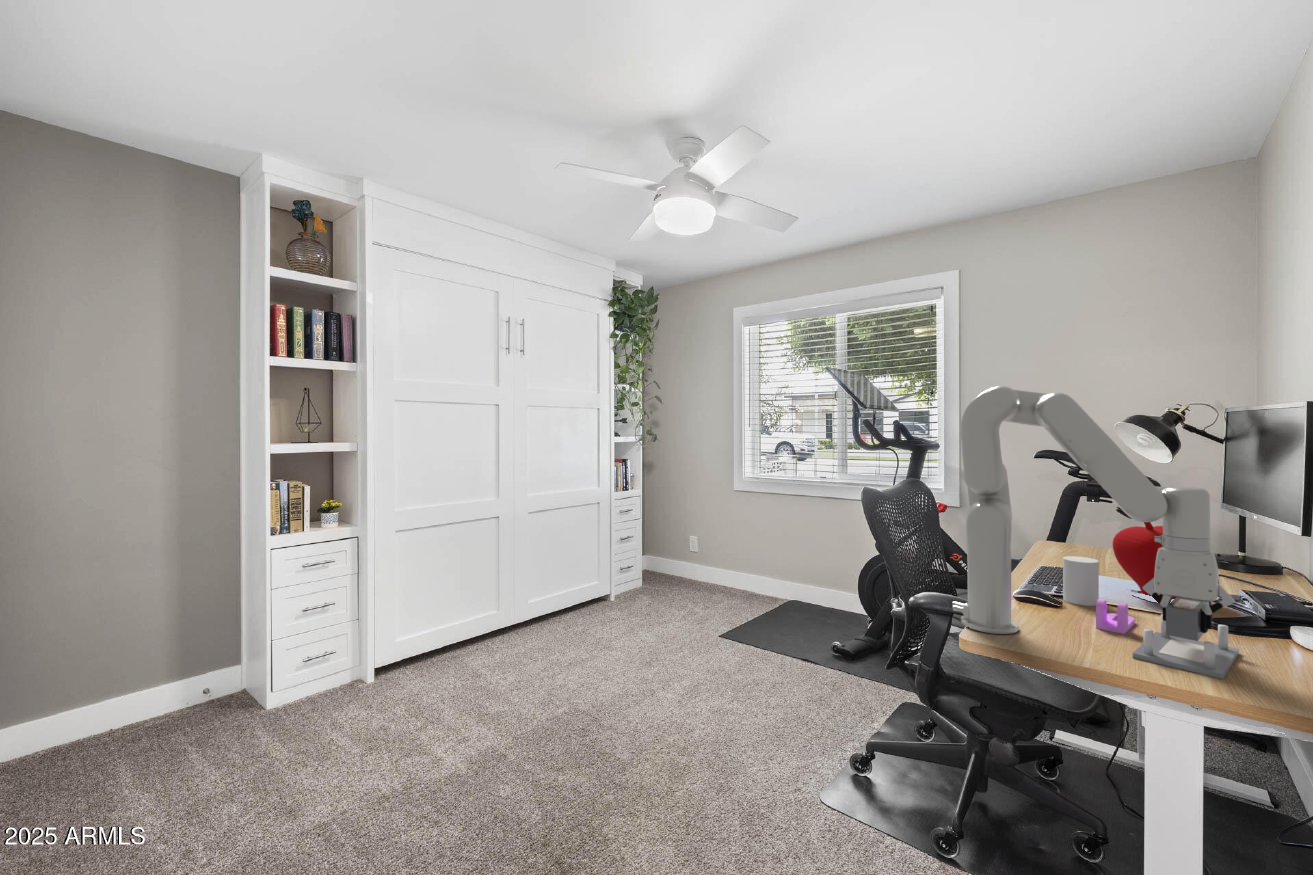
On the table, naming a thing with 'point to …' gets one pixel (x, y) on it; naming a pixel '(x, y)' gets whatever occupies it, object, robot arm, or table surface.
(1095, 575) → the light grey cylinder
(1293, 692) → the table surface
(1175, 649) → the grey fixture base
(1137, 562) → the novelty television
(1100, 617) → the bracket
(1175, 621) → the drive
